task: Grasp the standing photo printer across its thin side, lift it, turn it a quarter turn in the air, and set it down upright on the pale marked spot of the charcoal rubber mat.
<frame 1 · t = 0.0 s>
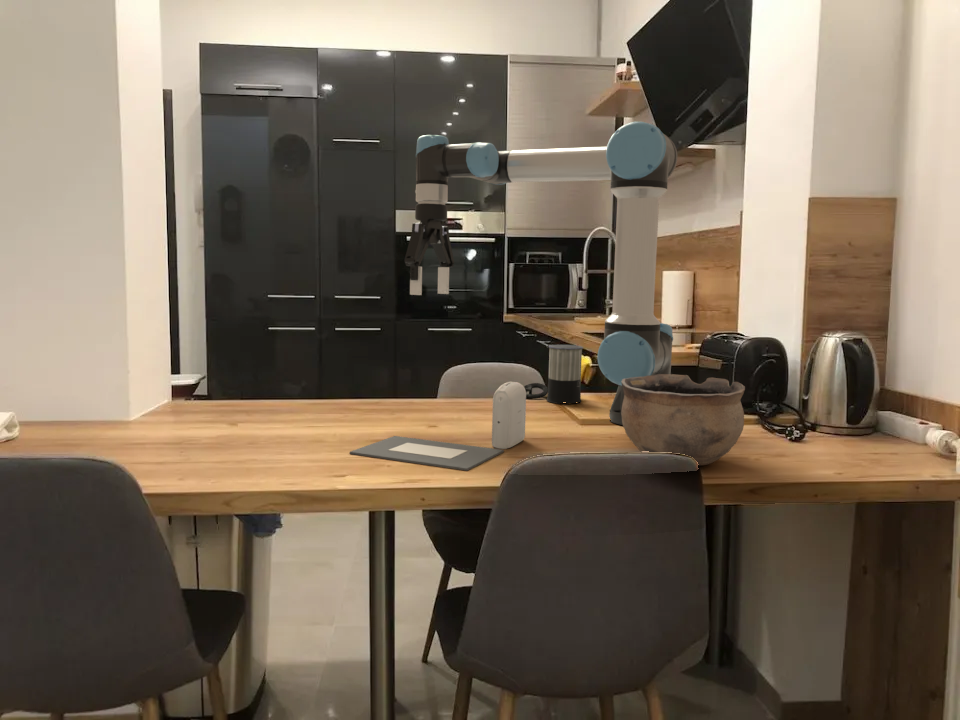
hand: (429, 294, 186), 28 cm above the table, fingers open, 13 cm apart
milk frother: (550, 400, 209), on the table
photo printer: (508, 444, 155), on the table
ceramic bowl: (678, 463, 143), on the table
mat: (427, 452, 146), on the table
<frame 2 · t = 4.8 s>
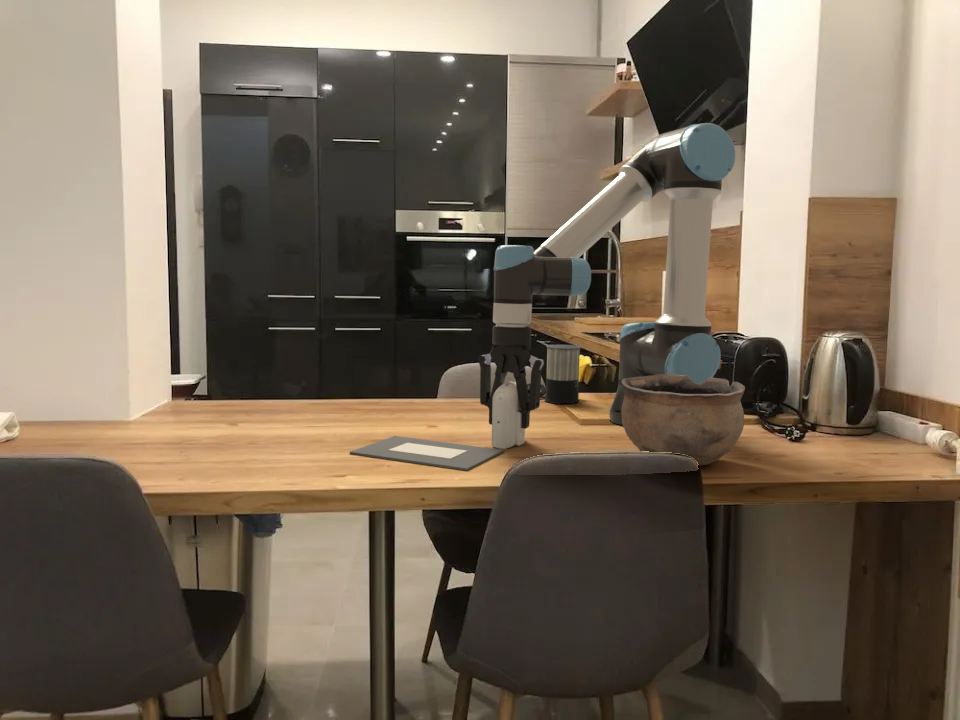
hand: (508, 442, 155), 0 cm above the table, fingers closed on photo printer, 4 cm apart
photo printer: (508, 444, 155), on the table, touching gripper
everything else where it was.
when the fingers open (2 cm above the table, at t = 11.4 s): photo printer stays where it is, resting on mat.
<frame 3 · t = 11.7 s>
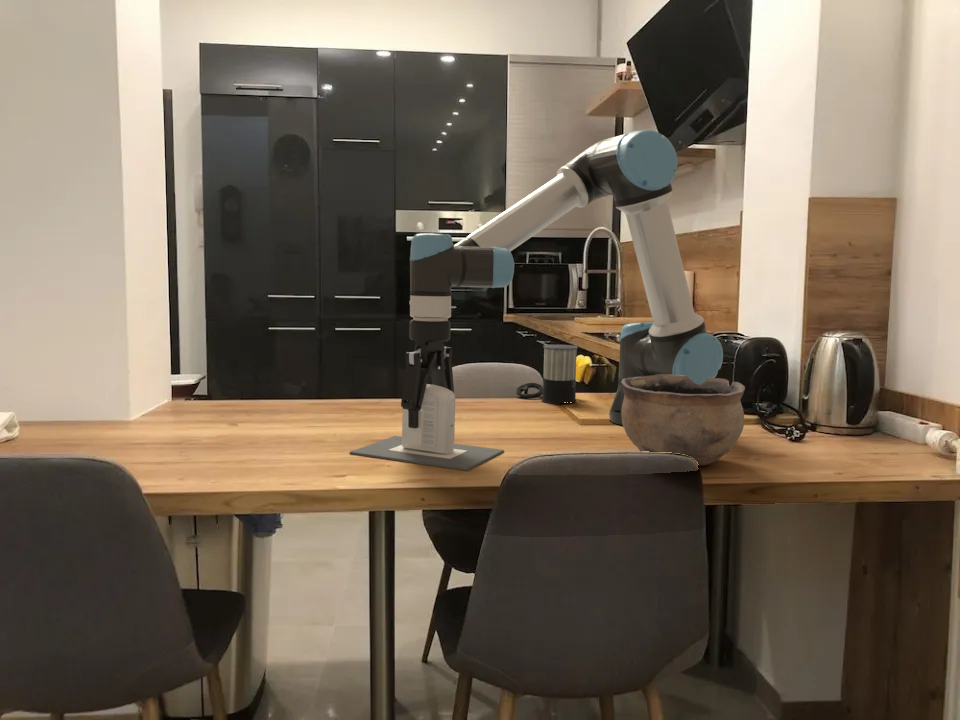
hand: (428, 440, 145), 2 cm above the table, fingers open, 9 cm apart
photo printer: (428, 451, 146), resting on mat
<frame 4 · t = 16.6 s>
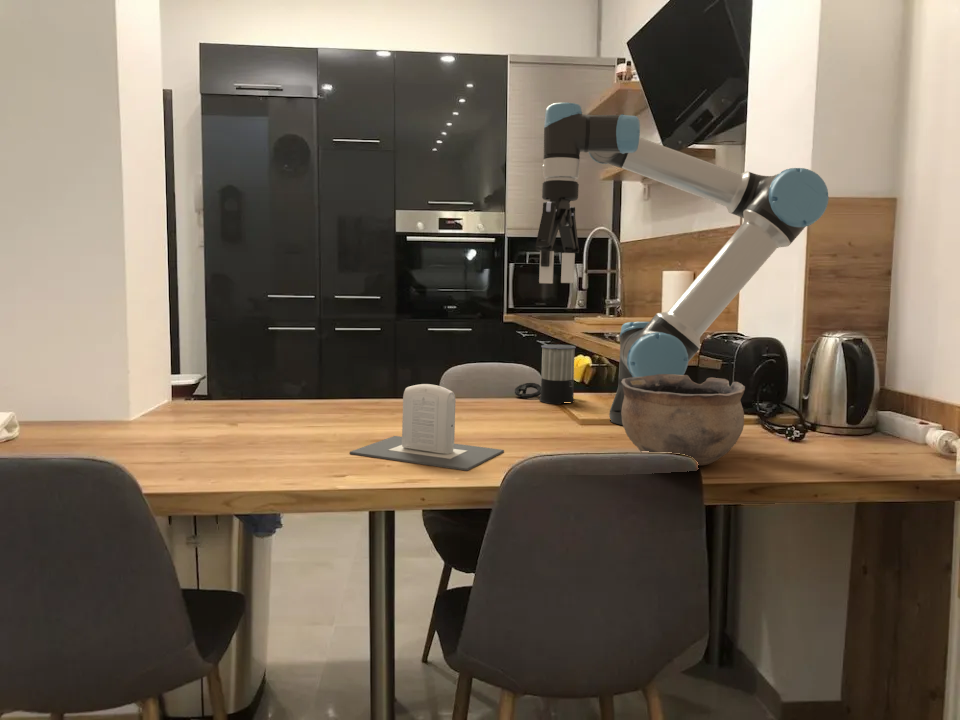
hand: (557, 283, 165), 32 cm above the table, fingers open, 13 cm apart
at the end: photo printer inside the target area on the mat (0.1 cm from its centre), point 0.3 cm above the mat's base; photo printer tilted 0°; the gripper is holding nothing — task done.
